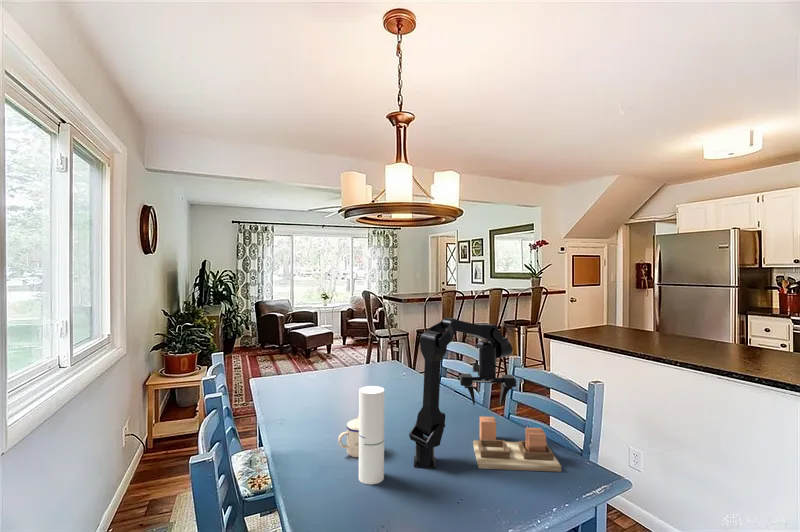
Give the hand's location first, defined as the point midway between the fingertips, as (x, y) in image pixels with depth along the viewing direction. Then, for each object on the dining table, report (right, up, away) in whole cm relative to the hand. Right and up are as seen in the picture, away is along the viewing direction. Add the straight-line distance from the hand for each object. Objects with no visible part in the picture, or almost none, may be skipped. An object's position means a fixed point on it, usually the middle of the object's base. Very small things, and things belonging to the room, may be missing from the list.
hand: (487, 404), depth 144 cm
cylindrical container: (-38, -12, -26) cm, 48 cm away
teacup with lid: (-44, -12, -11) cm, 47 cm away
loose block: (0, -12, 0) cm, 12 cm away
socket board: (+6, -12, -14) cm, 19 cm away
